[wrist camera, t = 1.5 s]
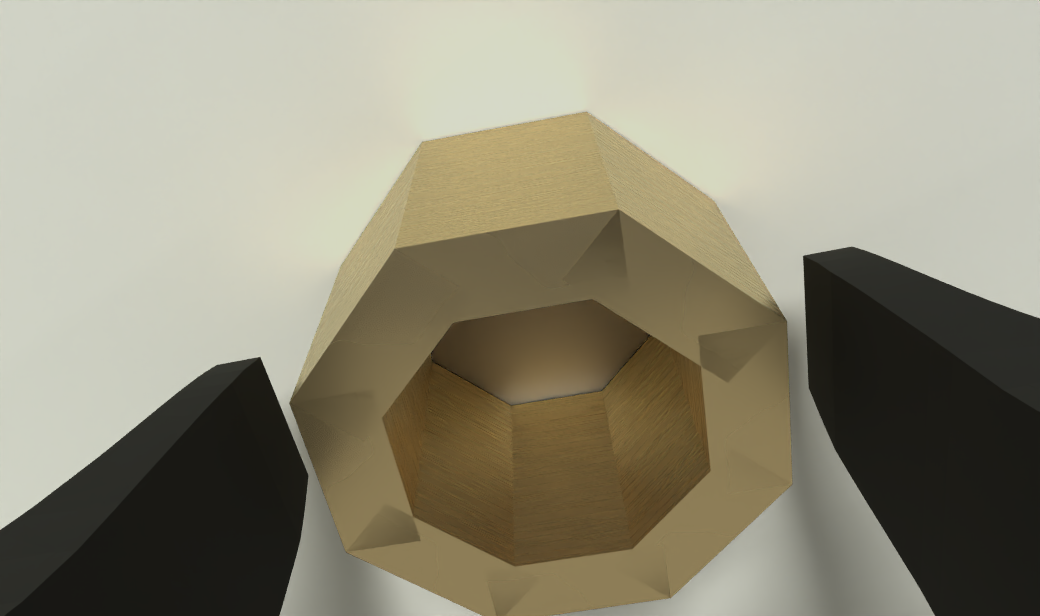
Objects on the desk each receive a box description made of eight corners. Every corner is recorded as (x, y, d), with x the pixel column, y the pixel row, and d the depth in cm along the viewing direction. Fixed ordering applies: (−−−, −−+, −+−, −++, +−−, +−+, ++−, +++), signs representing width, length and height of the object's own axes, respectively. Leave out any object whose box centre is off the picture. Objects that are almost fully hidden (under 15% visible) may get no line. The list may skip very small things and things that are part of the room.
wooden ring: (705, 90, 11) (781, 180, 8) (730, 418, 14) (795, 580, 11) (308, 162, 12) (240, 275, 9) (404, 470, 14) (379, 640, 11)
